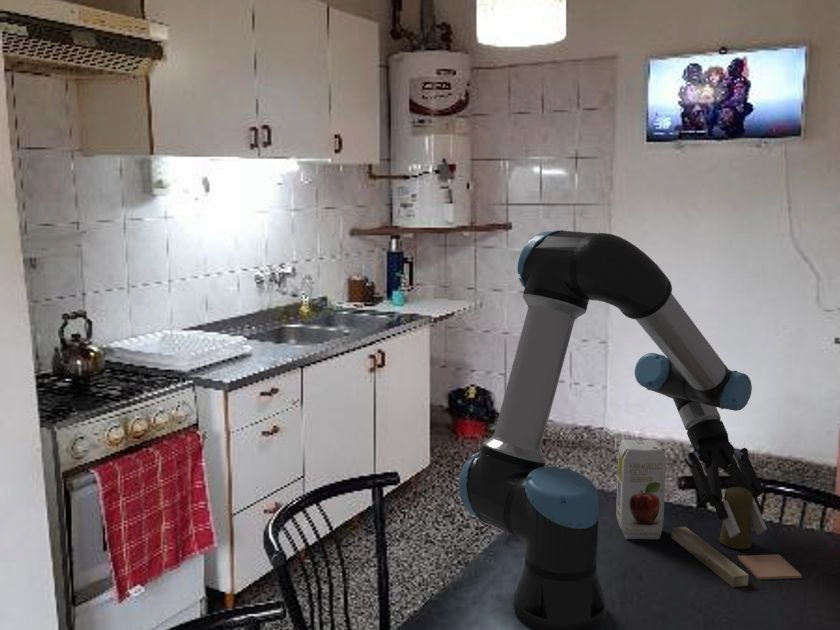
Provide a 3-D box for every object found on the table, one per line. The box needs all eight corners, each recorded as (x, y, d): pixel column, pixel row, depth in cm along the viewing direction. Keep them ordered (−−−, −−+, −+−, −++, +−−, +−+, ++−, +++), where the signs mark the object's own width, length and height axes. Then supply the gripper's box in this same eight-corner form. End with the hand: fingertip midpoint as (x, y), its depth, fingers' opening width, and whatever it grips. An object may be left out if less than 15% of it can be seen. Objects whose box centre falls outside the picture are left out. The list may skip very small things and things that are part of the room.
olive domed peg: (755, 550, 147) (759, 496, 146) (722, 547, 149) (725, 493, 147) (748, 536, 153) (752, 484, 151) (716, 533, 154) (720, 482, 153)
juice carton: (613, 524, 160) (616, 437, 157) (655, 525, 160) (659, 437, 156) (621, 541, 153) (625, 450, 149) (665, 541, 152) (669, 450, 149)
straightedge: (732, 587, 135) (733, 576, 134) (671, 537, 154) (671, 528, 153) (747, 585, 135) (748, 574, 135) (684, 535, 154) (685, 526, 154)
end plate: (758, 579, 137) (758, 577, 137) (737, 558, 145) (737, 555, 145) (801, 578, 137) (801, 575, 137) (778, 556, 145) (778, 554, 145)
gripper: (733, 430, 165) (779, 535, 152) (657, 437, 161) (697, 545, 148) (750, 414, 159) (800, 521, 146) (672, 420, 155) (715, 531, 142)
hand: (748, 533), depth 147 cm, fingers closed on olive domed peg, 5 cm apart
